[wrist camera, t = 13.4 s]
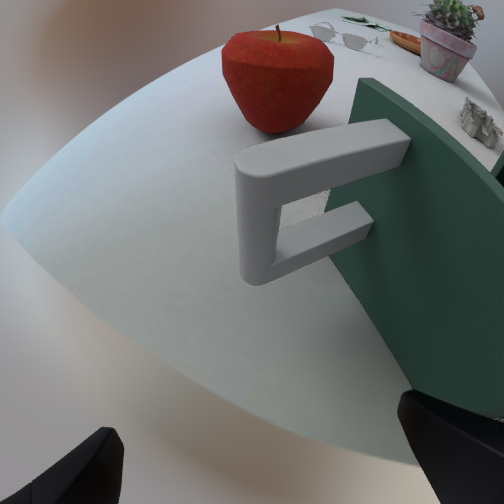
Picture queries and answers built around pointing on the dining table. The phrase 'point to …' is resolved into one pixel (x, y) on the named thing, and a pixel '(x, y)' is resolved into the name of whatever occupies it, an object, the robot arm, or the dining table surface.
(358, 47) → the eyeglasses
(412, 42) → the saucer
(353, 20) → the cloth
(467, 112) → the egg carton
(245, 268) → the cooler door
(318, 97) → the apple
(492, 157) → the dining table surface
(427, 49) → the potted plant
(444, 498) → the robot arm
